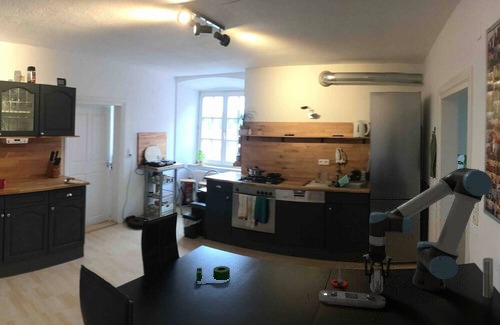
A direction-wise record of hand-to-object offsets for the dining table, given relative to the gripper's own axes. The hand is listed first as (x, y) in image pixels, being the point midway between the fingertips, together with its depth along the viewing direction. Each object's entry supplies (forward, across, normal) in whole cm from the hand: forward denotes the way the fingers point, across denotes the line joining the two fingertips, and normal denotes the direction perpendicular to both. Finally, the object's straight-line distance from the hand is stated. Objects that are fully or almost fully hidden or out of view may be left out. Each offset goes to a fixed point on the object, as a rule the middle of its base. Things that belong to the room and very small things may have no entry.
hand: (376, 289), depth 169 cm
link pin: (+2, 0, 0) cm, 2 cm away
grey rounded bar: (+2, +13, +13) cm, 18 cm away
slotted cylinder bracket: (+2, +85, +2) cm, 85 cm away
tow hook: (+2, +18, -7) cm, 19 cm away
